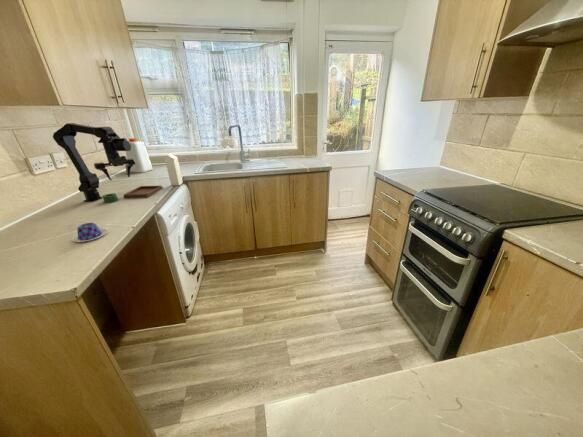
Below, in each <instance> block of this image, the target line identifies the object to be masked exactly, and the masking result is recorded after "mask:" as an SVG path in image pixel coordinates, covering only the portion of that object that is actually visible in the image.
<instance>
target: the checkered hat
mask: <svg viewBox="0 0 583 437" xmlns="http://www.w3.org/2000/svg"><path fill="white" fill-rule="evenodd" d="M76 230H77V234H75V235H74V236H73V237H72V238H71V241H72V242H75V243H84V242H90V241H93V240H96V239H98V238H101V237H103V236H104V235H106V234H107V233H108V229H107V228H99V226H98V225H97V224H96V223H94V222H86V223H83V224H80V225H79V226H77V229H76Z"/></svg>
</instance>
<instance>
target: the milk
mask: <svg viewBox="0 0 583 437" xmlns="http://www.w3.org/2000/svg"><path fill="white" fill-rule="evenodd" d="M164 161H165V165H166V166H165V167H166V169H167V175H168V179H169V183H170V186H171V187H172V186H181V185H182V184H183V183H184V182H183V178H182V177H183V176H182V172H181V168H180V163H179V158H178V156H176V155H174V154H173V152H169V153H168V154H167V156H166V157H165V158H164Z"/></svg>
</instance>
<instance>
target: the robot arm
mask: <svg viewBox="0 0 583 437" xmlns="http://www.w3.org/2000/svg"><path fill="white" fill-rule="evenodd" d="M78 133H80V134H87V135H92V136H95V137H96V138H99V140H98V141H97V143H98V144H102V147H103V149H104V153H105V156H106V158H107V162H106V163H105V162H102V161H101V162H94V164H93V167H94V169H96V170H98V171H100V172H101V171H102V172H103V174H104V175H105V176H106V177H107V178H108V180H109V181H112V178H111V175H110V174H109V172H108V168H107V167H114V168H115V167H116V168H117V167H121V166H122V167H123V166H125V171H126V176H127V177H128V178H131V172H130V169H131V167H132V166H133V165H134V164H136V163H135V160H133V159H127V156H125V155H120V154H119V152H126V151H130V150H131V144H130V143H129V140H127V137H122V138H121V137H120V136H119V135H118V134H117V133H116V132H115V131H114V128H112V127H111V126H93V125H84V124H79V123H75V122H69V123H65V124H64V125H63V126H62V127H60V128H59V129H57V130H56V131H55V132H53V134H52V138H53V141H54V142H55V143H56V144H57V145H58V146H59V147H61V149H63V150H64V151H65V153H66V154H67V156H68V157H69V159H70V161H71V163H72V164H73V166H74V168H75V169H76V171H77V173H78V174H79V176H78V180H79V183H80V184H79V186H78V188H77V189H78V191H79V192H80V193H83V195H84V198H85V199H84V202H95V201H98V200H100V199H103V196H101V194H100V192H99V190H98V189H100V178H99V177H98V175H97V173H96V172H94V173H93V172H92V171H90V170H89V168H88V166H87V164H86V163H85V161H84V159H83V158H82V156H81V154H80V152H79V151H78V149H77V147H76V146H77V145H76V144H77V143H76V142H77V141H76V138H75V137H76V136H77V134H78Z"/></svg>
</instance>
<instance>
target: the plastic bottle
mask: <svg viewBox="0 0 583 437" xmlns="http://www.w3.org/2000/svg"><path fill="white" fill-rule="evenodd" d="M128 141H129V143H130V144H131V150H130V151H125V155H126V159H133V160H135V163H136V164H134V165H133V166H132V167H131V169H130V173H137V174H142V173H147V172H150V171H152V170H153V169H154V168H153V165H152V163H151V159H150V156H149V153H148V150H147V147H146V144H145V142H144V141H139V140H138V138H136V137H131V138H128Z"/></svg>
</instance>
